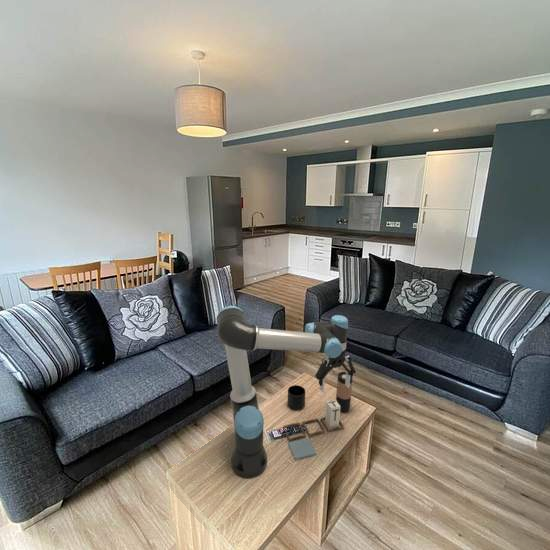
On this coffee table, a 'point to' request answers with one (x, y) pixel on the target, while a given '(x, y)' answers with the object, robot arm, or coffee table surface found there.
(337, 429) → the wooden frame right
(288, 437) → the wooden picture frame
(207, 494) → the coffee table surface
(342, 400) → the travel mug
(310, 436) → the wooden window frame
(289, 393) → the mug
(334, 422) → the letter block
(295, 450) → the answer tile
